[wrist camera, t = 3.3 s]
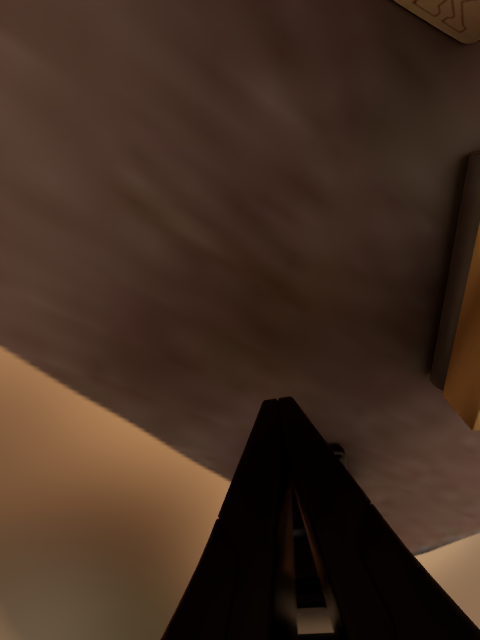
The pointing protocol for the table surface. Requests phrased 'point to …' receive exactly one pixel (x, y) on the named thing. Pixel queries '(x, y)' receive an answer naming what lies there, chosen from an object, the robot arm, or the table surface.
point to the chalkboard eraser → (462, 310)
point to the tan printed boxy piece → (449, 16)
